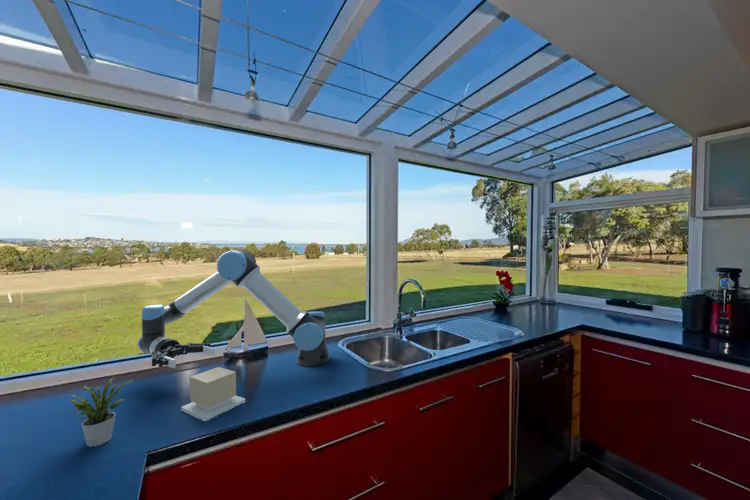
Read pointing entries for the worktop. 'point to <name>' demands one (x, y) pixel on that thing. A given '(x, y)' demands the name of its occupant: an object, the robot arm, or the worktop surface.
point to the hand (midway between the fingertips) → (195, 357)
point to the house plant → (98, 415)
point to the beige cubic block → (212, 386)
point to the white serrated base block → (211, 408)
